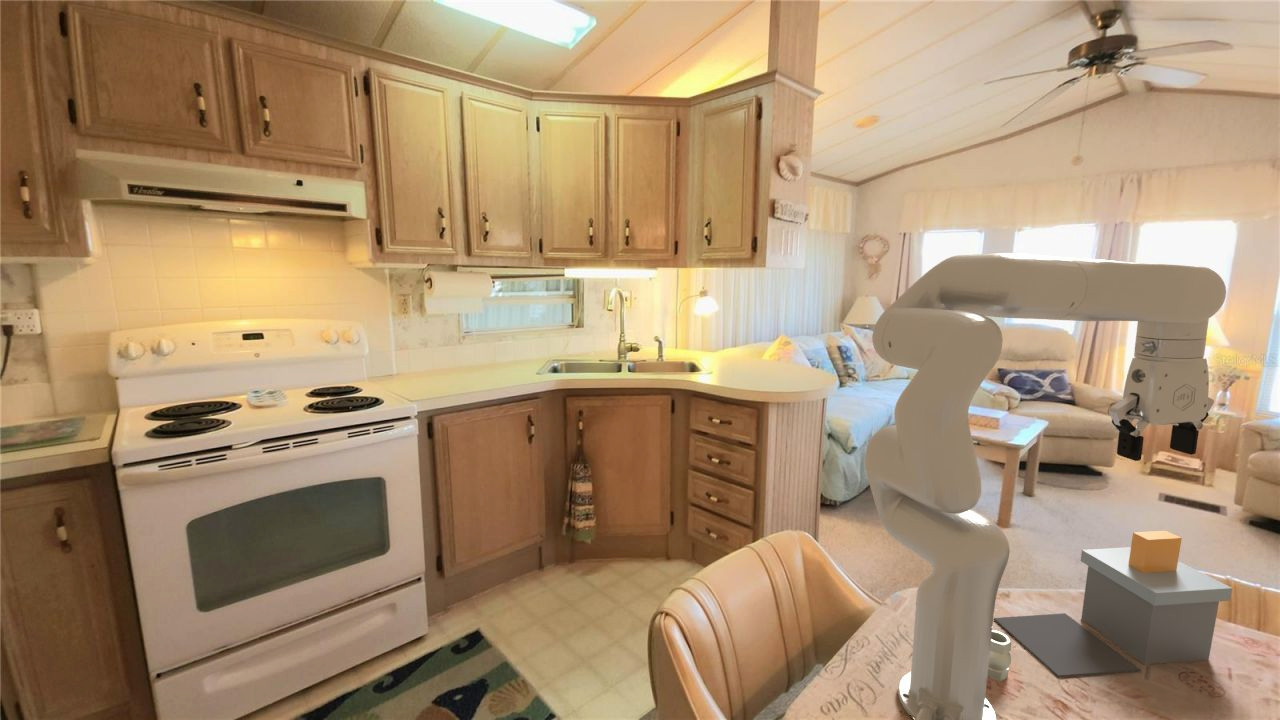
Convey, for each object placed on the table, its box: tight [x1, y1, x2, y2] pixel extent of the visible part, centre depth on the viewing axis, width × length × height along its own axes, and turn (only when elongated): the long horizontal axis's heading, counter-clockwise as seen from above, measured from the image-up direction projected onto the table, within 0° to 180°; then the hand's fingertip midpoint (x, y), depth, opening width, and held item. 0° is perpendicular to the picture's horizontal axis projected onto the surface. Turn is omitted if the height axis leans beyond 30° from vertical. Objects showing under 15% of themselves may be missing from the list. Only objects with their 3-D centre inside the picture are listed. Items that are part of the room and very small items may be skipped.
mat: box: [993, 613, 1142, 678], centre depth 90 cm, size 14×14×1 cm
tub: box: [1081, 565, 1220, 666], centre depth 90 cm, size 11×11×12 cm
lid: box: [1080, 530, 1233, 606], centre depth 89 cm, size 13×13×8 cm
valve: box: [987, 629, 1012, 683], centre depth 88 cm, size 7×7×12 cm
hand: (1155, 454), depth 82 cm, fingers open, 9 cm apart
